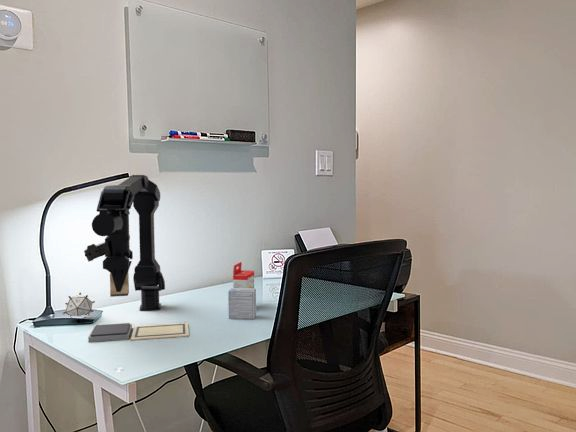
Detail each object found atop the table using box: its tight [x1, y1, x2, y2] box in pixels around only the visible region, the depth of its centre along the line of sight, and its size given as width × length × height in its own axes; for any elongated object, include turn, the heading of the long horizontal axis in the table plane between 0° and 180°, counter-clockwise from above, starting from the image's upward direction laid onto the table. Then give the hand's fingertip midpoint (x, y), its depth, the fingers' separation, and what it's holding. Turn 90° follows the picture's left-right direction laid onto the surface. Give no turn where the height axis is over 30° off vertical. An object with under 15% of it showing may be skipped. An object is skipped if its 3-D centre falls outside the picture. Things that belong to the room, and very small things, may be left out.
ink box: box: [232, 261, 255, 288], centre depth 161 cm, size 8×5×15 cm, turn 168°
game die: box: [62, 292, 96, 317], centre depth 147 cm, size 9×8×10 cm
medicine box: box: [227, 287, 257, 320], centre depth 150 cm, size 8×4×9 cm, turn 84°
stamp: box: [109, 272, 130, 298], centre depth 133 cm, size 4×4×6 cm
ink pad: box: [87, 322, 133, 343], centre depth 133 cm, size 10×10×2 cm
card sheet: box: [129, 322, 190, 341], centre depth 136 cm, size 12×15×1 cm
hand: (119, 289), depth 133 cm, fingers closed on stamp, 4 cm apart
